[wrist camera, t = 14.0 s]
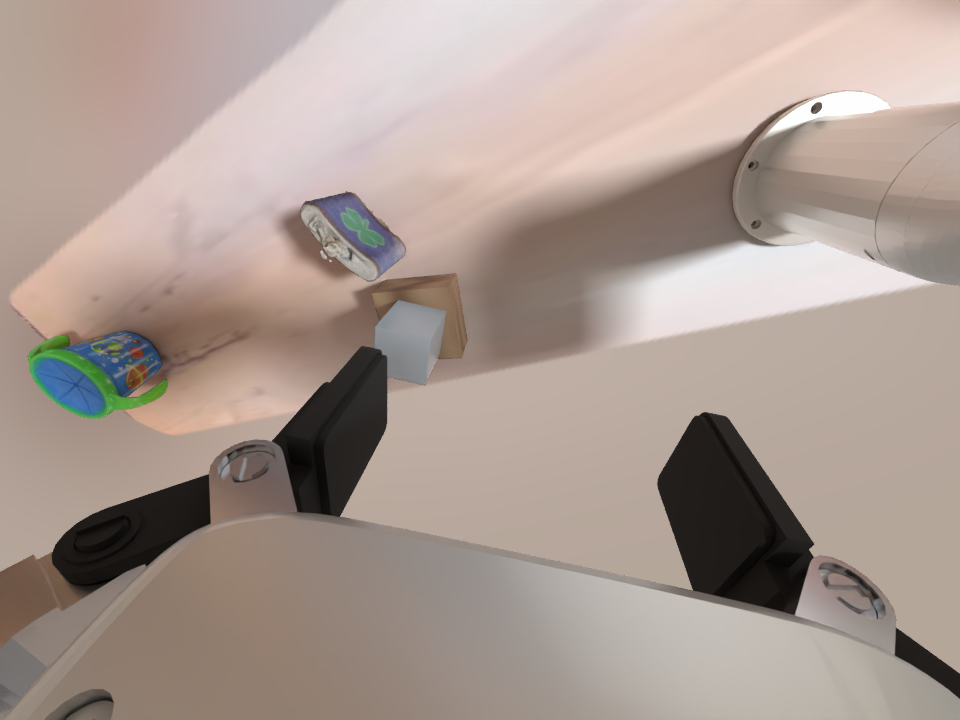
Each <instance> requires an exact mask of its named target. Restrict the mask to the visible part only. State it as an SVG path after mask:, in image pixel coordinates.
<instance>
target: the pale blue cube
mask: <svg viewBox="0 0 960 720" xmlns="http://www.w3.org/2000/svg"><path fill="white" fill-rule="evenodd" d="M445 317H446V311H444V310H440V309H436V308H431V307H427V306H422V305H418V304H414V303H409V302H405V301H401V300H398V301H397V302H396V303H395V304H394V305H393V307H392V308H391V309H390V310H389V311H388V312H387V313H386V315H385V316H384V317H383V318H382V319H381V320H380V321H379V322H378V324H377V325H376V326H375V343H374V348H375V349H380V350H381V351H382V355H386V356H387V377H391V378H395V379H400V380H404V381H408V382H413V383H417V384H421V385H426V383H427V380H428V378H429V376H430V374H431V372H432V370H433V367H434V365H435V363H436V361H437V359H438V356H439V354H440V350H441V344H442V337H443V331H444V324H445Z"/></svg>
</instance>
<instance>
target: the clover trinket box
mask: <svg viewBox="0 0 960 720" xmlns="http://www.w3.org/2000/svg"><path fill="white" fill-rule="evenodd" d="M300 217H301V219H302V222H303V223H304V224H305V226H306V227H307V228H308V229H309V230H310V231H311V233H312V234H313V236H314V237H315V238H316V239H317V240H318V242H319V243H320V244H321V245H322V246H323V248H324V251H325V252H326V253H327V255H328V256H330V257H334V258H335V259H337V260H338V261H339V262H340V263H342V264H343V265H344V266H345V267H347V268H348V269H350V270H351V271H352V272H353V273H355V274H356V275H358V276H359V277H361V278H362V279H364V280H366V281H374V280H376V279H377V278H379V277H380V276H381V275H382V274H383V273H384V272H385V271H387V270H388V269H389V268H390V267H391V266H393V265H394V264H395V263H396V262H398V261H399V260H400V259H401V258H403V257H404V255H405V252H406V248H405V246H404V244H403V242H402V241H401V240H400V238H399V237H398V236H395V235H394V234H393V233H392V232H391V231H390V230H389V229H388V227H387V226H386V225H385V223H384V222H382V220H380V219H378V218H376V217H375V216H374V215H373V211H370V210H368V209H367V208H366V206H365V203H363V202H362V201H361V199H360V198H359V197H358V196H357V195H356V194H355V193H350V192H347V191H346V193H342V194H338V195H334V196H329V197H326V198H320V199H316V200H312V201H305V203H304V204H303V206H302V208H301V210H300ZM320 254H321V256H322V258H323V259H327V256H326V255H325V254H324V253H323V250H321V251H320ZM329 262H332V261H331V260H329Z"/></svg>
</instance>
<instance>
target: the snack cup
mask: <svg viewBox="0 0 960 720" xmlns="http://www.w3.org/2000/svg"><path fill="white" fill-rule="evenodd" d="M69 345H70V339H69V337H68V336H66V335H60V336H55V337H53V338H51V339H49V340H47V341H45V342H43V343H42V344H40V345H38V346H37V347H35V348H34V349H33V350H32V351H31V352H30V353H29V355H28V360H29V369H30V373H31V375H32V377H33V379H34V381H35V382H36V384H37V385H38V387H39V388H40V389H41V390H42V391H43V392H44V393H45V394H46V395H47V396H48V397H49V398H50V399H51V400H53V401H54V402H56V403H57V404H58V405H59V406H61V407H62V408H64V409H66V410H68V411H70V412H72V413H74V414H76V415H79V416H82V417H86V418H93V419H97V418H102V417H105V416H106V415H108V414H110V413H111V412H112V411H114V410H126V409H132V408H136V407H139V406H142V405H145V404H147V403H149V402H152V401H154V400H156V399H158V398H159V397H161V396H162V395H163V394H164V393H165V391H166V389H167V386H168V385H167V380H163V381H162V382H161V383H160V384H159V385H157V386H155V387H154V388H152V389H150V390H149V391H147V392H145V393H144V394H142V395H141V396H139V397H127V396H129V395H130V394H131V393H132V392H134V391H135V390H136V389H137V388H139V387H140V386H141V385H142V384H143V383H145V382H146V381H147V380H148V379H150V378H151V377H152V376H153V375H154V374H155V373H156V372H157V371H158V370H159V368H160V366H161V364H162V361H161V360H160V357H159V355H158V352H157V351H156V349H155V348H154V347H153V346H152V345H151V343H150V342H149V341H148V340H145V339H144V338H142V337H141V336H139V335H136V334H133V333H129V332H127V331H122V332H118V333H113V334H109V335H106V336H102V337H99V338H95V339H92V340H88V341H85V342H81V343H78V344H76V345H73V346H70V347H69Z"/></svg>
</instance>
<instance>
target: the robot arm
mask: <svg viewBox="0 0 960 720" xmlns="http://www.w3.org/2000/svg"><path fill="white" fill-rule="evenodd" d="M811 107H813V109H812V110H811V112H810V109H811ZM750 162H751V167H750V168H748V166H749V164H750ZM732 197H733V208H734V211H735V215H736V218H737V220H738V221H739V223H740V224H741V226H742V228H744V229H745V230H746V231H747V232H748V233H749V234H750V235H752V236H753V237H755V238H757V239H759V240H761V241H764V242H766V243H769V244H774V245H780V246H795V245H801V244H807V243H811V242H814V241H817V242H820V243H822V244H825V245H828V246H831V247H833V248H836V249H839V250H842V251H844V252H847V253H850V254H853V255H856V256H858V257H861V258H864V259H867V260H869V261H872V262H875V263H878V264H881V265H883V266H886V267H889V268H892V269H894V270H897V271H900V272H903V273H906V274H909V275H912V276H914V277H917V278H920V279H924V280H927V281H931V282H935V283H940V284H948V285H958V286H960V102H951V103H940V104H929V105H918V106H908V107H897V108H891V107H890V106H889V104H888V103H887V102H886V101H884V100H882V99H881V98H879V97H878V96H876V95H873V94H870V93H866V92H863V91H838V92H831V93H827V94H823V95H819V96H816V97H813V98H810V99H808V100H806V101H804V102H801V103H799V104H797V105H795V106H794V107H792V108H791V109H789V110H787V111H786V112H784V113H783V114H781V115H780V116H779V117H778V118H776V119H775V120H774V121H773V122H772V123H770V124H769V125H768V126H767V127H766V128H765V129H764V130H763V131H762V133H761V134H760V135H759V136H758V137H757V138H756V139H755V141H754V142H753V143H752V145H751V146H750V148H749V149H748V151H747V152H746V154H745V156H744V158H743V160H742V162H741V164H740V166H739V168H738V171H737V174H736V177H735V180H734V186H733V194H732ZM753 222H754V224H753V225H751V224H752V223H753ZM386 424H387V356H386V355H382V351H381V350H380V349H375V348H370V347H365V346H362V347H360V348H359V350H358V351H357V352H356V353H355V354H354V355H353V357H352V358H351V359H350V360H349V361H348V362H347V364H346V365H345V366H344V367H343V368H342V369H341V371H340V372H339V373H338V374H337V375H336V376H335V377H334V379H333V380H332V381H331V382H330V383H329V382H326V383H324V384H323V385H321V386H320V388H319V389H318V390H317V391H316V392H315V393H314V394H313V395H312V397H311V398H310V399H309V400H308V401H307V402H306V403H305V404H304V406H303V407H302V408H301V409H300V410H299V411H298V412H297V413H296V415H295V416H294V417H293V418H292V419H291V420H290V421H289V422H288V424H287V425H286V426H285V427H284V428H283V429H282V430H281V432H280V433H279V434H278V435H277V436H276V437H275V438H274V439H273V441H272V442H271V441H267V440H250V441H244V442H241V443H239V444H236V445H234V446H231V447H230V448H228V449H226V450H224V451H223V452H222V453H221V454H220V455H218V456H217V457H216V458H215V460H214V461H213V463H212V464H211V466H210V471H209V474H208V475H205V476H202V477H199V478H196V479H193V480H190V481H187V482H184V483H181V484H178V485H175V486H172V487H169V488H166V489H163V490H160V491H157V492H154V493H151V494H148V495H145V496H142V497H139V498H136V499H133V500H130V501H127V502H124V503H121V504H118V505H115V506H112V507H109V508H106V509H104V510H101V511H99V512H97V513H94V514H92V515H90V516H89V517H87V518H85V519H83V520H82V521H80V522H78V523H77V524H76V525H74V526H73V527H72V528H71V529H70V530H69V531H67V532H66V533H65V534H64V535H63V536H62V538H61V539H60V540H59V541H58V542H57V544H56V545H55V548H54V550H53V552H51V553H49V554H47V555H45V556H44V557H42V558H40V559H37V558H36V557H35V556H34V555H32V556H30V557H28V558H26V559H24V560H22V561H20V562H18V563H17V564H14V565H12V566H10V567H8V568H6V569H5V570H3V571H1V572H0V720H960V674H959V673H958V672H957V671H955V670H954V669H952V668H951V667H950V666H948V665H947V664H946V663H944V662H943V661H942V660H940V659H938V658H937V657H936V656H935V655H933V654H932V653H930V652H929V651H928V650H926V649H925V648H924V647H922V646H921V645H919V644H918V643H917V642H915V641H914V640H912V639H911V638H910V637H908V636H907V635H905V634H904V633H903V632H902V631H900V630H899V629H897V628H896V616H895V612H894V609H893V607H892V605H891V604H890V602H889V600H888V599H887V598H886V596H885V595H884V594H883V593H882V591H881V590H880V589H879V588H878V587H877V586H876V585H875V584H874V583H873V582H872V581H871V580H869V579H868V578H867V577H866V576H865V575H863V574H862V573H860V572H859V571H858V570H856V569H855V568H853V567H852V566H850V565H848V564H846V563H844V562H842V561H840V560H838V559H835V558H832V557H828V556H817V557H813V555H812V554H811V552H810V551H809V549H810V548H811V547H812V546H813V545H814V543H813V541H812V540H811V539H810V537H809V536H808V534H807V533H806V531H805V530H804V528H803V527H802V525H801V524H800V522H799V521H798V520H797V518H796V517H795V515H794V514H793V512H792V511H791V509H790V508H789V506H788V505H787V503H786V502H785V501H784V499H783V498H782V496H781V495H780V493H779V492H778V490H777V489H776V488H775V486H774V484H773V483H772V481H771V480H770V479H769V477H768V476H767V474H766V473H765V471H764V470H763V469H762V467H761V465H760V464H759V462H758V461H757V459H756V458H755V457H754V455H753V454H752V452H751V451H750V449H749V448H748V447H747V445H746V444H745V442H744V441H743V439H742V438H741V436H740V435H739V433H738V432H737V430H736V429H735V427H734V426H733V424H732V423H731V422H730V420H729V419H728V418H727V417H726V416H721V415H717V414H712V413H707V412H704V413H702V414H700V415H699V416H695V417H694V418H693V419H692V421H691V422H690V424H689V426H688V427H687V429H686V431H685V433H684V434H683V436H682V438H681V440H680V441H679V443H678V445H677V446H676V448H675V450H674V451H673V453H672V455H671V456H670V458H669V460H668V462H667V463H666V465H665V467H664V468H663V470H662V472H661V474H660V475H659V478H658V490H659V493H660V496H661V499H662V501H663V504H664V507H665V510H666V513H667V516H668V519H669V521H670V525H671V528H672V531H673V533H674V536H675V539H676V542H677V545H678V548H679V551H680V554H681V557H682V560H683V562H684V565H685V568H686V571H687V574H688V577H689V580H690V583H691V585H692V589H693V591H692V590H687V589H683V588H678V587H674V586H669V585H664V584H660V583H656V582H651V581H647V580H642V579H637V578H633V577H628V576H624V575H619V574H615V573H610V572H605V571H601V570H596V569H592V568H586V567H582V566H577V565H573V564H568V563H563V562H559V561H554V560H549V559H545V558H540V557H536V556H531V555H526V554H521V553H517V552H512V551H507V550H503V549H498V548H493V547H488V546H483V545H479V544H474V543H469V542H465V541H460V540H455V539H450V538H445V537H440V536H436V535H431V534H426V533H421V532H416V531H411V530H407V529H402V528H396V527H392V526H386V525H380V524H376V523H370V522H366V521H360V520H355V519H350V518H344V517H340V515H341V513H342V512H343V510H344V508H345V506H346V504H347V502H348V500H349V498H350V496H351V495H352V493H353V491H354V489H355V487H356V485H357V483H358V481H359V479H360V478H361V476H362V474H363V472H364V470H365V468H366V466H367V464H368V462H369V460H370V458H371V457H372V455H373V453H374V451H375V449H376V447H377V445H378V443H379V442H380V440H381V438H382V436H383V434H384V432H385V429H386Z"/></svg>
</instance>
